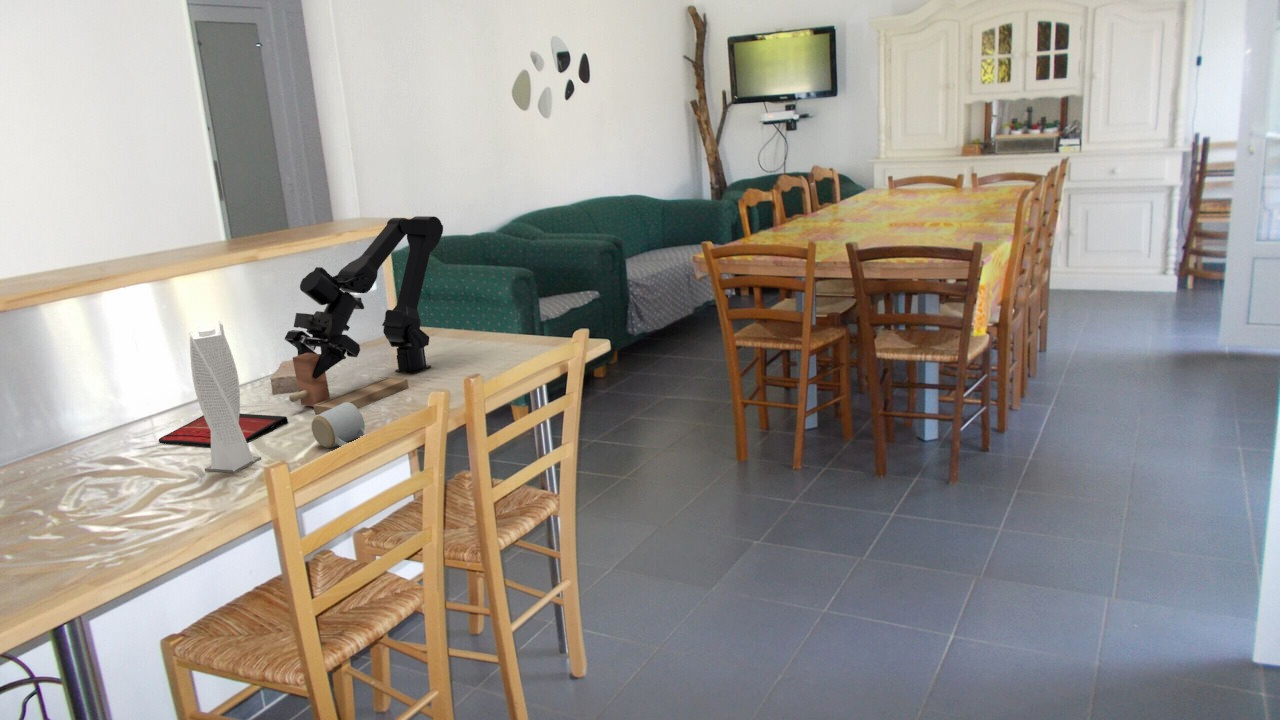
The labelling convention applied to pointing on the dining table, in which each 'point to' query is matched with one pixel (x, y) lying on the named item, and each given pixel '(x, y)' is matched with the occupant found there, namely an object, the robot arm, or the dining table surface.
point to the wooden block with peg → (309, 381)
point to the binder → (201, 433)
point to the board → (364, 394)
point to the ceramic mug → (338, 425)
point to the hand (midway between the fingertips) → (305, 376)
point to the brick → (284, 379)
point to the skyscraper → (219, 399)
